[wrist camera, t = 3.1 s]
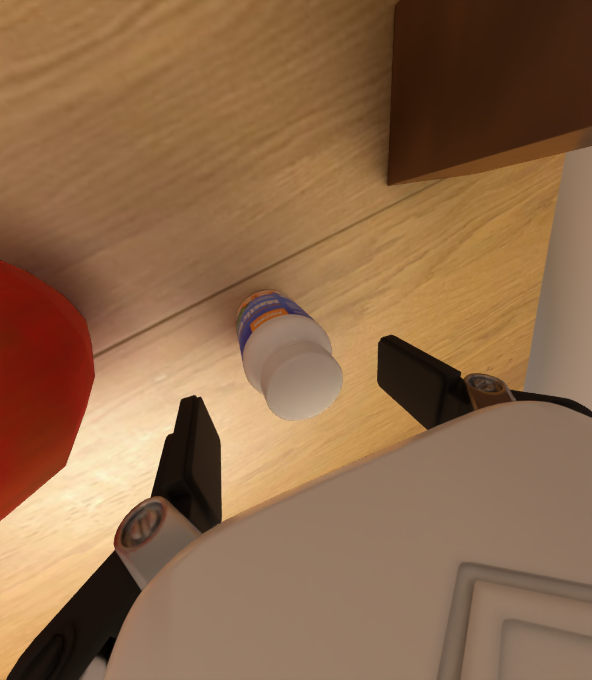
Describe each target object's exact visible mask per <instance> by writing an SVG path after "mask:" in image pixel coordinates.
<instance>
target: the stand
mask: <svg viewBox="0 0 592 680" xmlns="http://www.w3.org/2000/svg"><path fill="white" fill-rule="evenodd" d="M589 146H592V0H399V2H398V3H397V4H396V6H395V24H394V48H393V71H392V95H391V119H390V142H389V166H388V186H391V185H398V184H405V183H413V182H420V181H427V180H434V179H441V178H449V177H456V176H463V175H470V174H477V173H481V172H485V171H489V170H494V169H498V168H502V167H506V166H510V165H514V164H519V163H523V162H527V161H531V160H535V159H540V158H544V157H548V156H552V155H556V154H560V153H565V152H569V151H573V150H577V149H581V148H585V147H589Z"/></svg>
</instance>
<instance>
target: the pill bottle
mask: <svg viewBox="0 0 592 680" xmlns="http://www.w3.org/2000/svg"><path fill="white" fill-rule="evenodd" d="M236 330H237V335H238V340H239V345H240V350H241V356H242V362H243V367H244V371H245V374H246V377H247V379H248V381H249V382H250V383H251V385H252V386H253V387H254V388H255V389H256V390H257V391H258V392H260V393H261V394H263V395H264V397H265V399H266V402H267V405H268V407H269V408H270V410H271V411H272V412H273V413H274V414H275V415H277V416H278V417H280V418H282V419H285V420H290V421H300V420H305V419H309V418H312V417H314V416H316V415H318V414H320V413H321V412H323V411H324V410H326V409H327V408H328V407H329V406H330V405H331V404H332V403H333V402H334V401H335V399H336V398H337V396H338V395H339V393H340V390H341V387H342V382H343V375H342V370H341V368H340V366H339V364H338V363H337V361H336V360H335V359H334V358H333V356H332V347H331V343H330V340H329V338H328V336H327V334H326V332H325V331H324V329H323V328H322V327H321V326H320V325H319V324H318V323H317V322H316V321H314V320H313V319H312V318H311V317H310V316H309V315H308V314H307V313H306V312H305V311H304V310H303V309H301V308H300V307H299V306H298V305H297V304H296V303H295V302H294V301H293V300H292V299H290V298H289V297H288V296H287V295H285V294H283V293H281V292H278V291H273V290H265V291H260V292H257V293H254V294H253V295H251V296H249V297H248V298H247V299H246V300H245V301H244V302H243V303H242V304H241V306H240V308H239V310H238V312H237V316H236Z"/></svg>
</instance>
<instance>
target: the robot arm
mask: <svg viewBox="0 0 592 680" xmlns="http://www.w3.org/2000/svg"><path fill="white" fill-rule="evenodd" d="M460 376H461V372H460V371H458V370H456V369H455V368H453V367H451V366H449V365H447V364H445V363H444V362H442V361H440V360H438V359H436V358H434V357H433V356H431V355H429V354H427V353H425V352H423V351H422V350H420V349H418V348H416V347H414V346H412V345H411V344H409V343H407V342H405V341H403V340H401V339H400V338H398V337H396V336H394V335H388V336H385V337H382V338H381V339H380V341H379V342H378V370H377V382H378V385H379V386H380V387H381V388H382V389H383V390H384V391H385V392H386V393H387V394H389V395H390V396H391V397H392V398H393V399H394V400H395V401H396V402H397V403H398V404H400V405H401V406H402V407H403V408H404V409H405V410H406V411H407V412H408V413H409V414H411V415H412V416H413V417H414V418H415V419H416V420H417V421H418V422H419V423H420V424H422V425H423V426H424V427H425V428H426V429H427V431H424V432H422V433H420V434H417V435H415V436H413V437H410V438H408V439H405V440H403V441H401V442H398V443H396V444H394V445H392V446H389V447H387V448H385V449H382V450H380V451H378V452H375V453H373V454H371V455H368V456H366V457H364V458H362V459H359V460H357V461H355V462H352V463H350V464H348V465H345V466H343V467H341V468H339V469H336V470H334V471H332V472H329V473H327V474H325V475H323V476H320V477H318V478H316V479H314V480H311V481H309V482H307V483H304V484H302V485H300V486H298V487H295V488H293V489H291V490H289V491H286V492H284V493H282V494H280V495H277V496H275V497H273V498H271V499H269V500H267V501H264V502H262V503H260V504H258V505H256V506H254V507H251V508H249V509H247V510H245V511H243V512H241V513H239V514H237V515H235V516H233V517H231V518H229V519H227V520H225V521H223V522H221V521H222V502H221V443H220V438H219V436H218V433H217V431H216V429H215V427H214V424H213V422H212V420H211V418H210V415H209V413H208V411H207V409H206V407H205V404H204V402H203V400H202V398H201V397H198V398H197V397H196V395H193V396H190V397H187V398H184V399H181V402H180V406H179V411H178V415H177V419H176V424H175V428H174V433H172V434H169V435H168V436H167V437H166V440H165V444H164V448H163V451H162V455H161V459H160V463H159V467H158V471H157V475H156V478H155V482H154V486H153V490H152V494H151V498H148V499H146V500H144V501H143V502H141V503H139V504H138V505H137V506H136V507H134V508H133V509H132V510H131V511H130V512H129V513H128V514H127V515H126V517H125V518H124V519H123V521H122V522H121V524H120V525H119V527H118V529H117V532H116V534H115V538H114V547H115V550H114V551H113V553H112V554H111V555H110V556H109V557H108V558H107V559H106V560H105V561H104V563H103V564H102V565H101V566H100V567H99V568H98V569H97V570H96V571H95V573H94V574H93V575H92V576H91V577H90V578H89V579H88V580H87V581H86V583H85V584H84V585H83V586H82V587H81V588H80V589H79V590H78V592H77V593H76V594H75V595H74V596H73V597H72V598H71V599H70V600H69V602H68V603H67V604H66V605H65V606H64V607H63V608H62V609H61V610H60V612H59V613H58V614H57V615H56V616H55V617H54V618H53V619H52V620H51V622H50V623H49V624H48V625H47V626H46V627H45V628H44V629H43V630H42V632H41V633H40V634H39V635H38V636H37V637H36V638H35V639H34V640H33V642H32V643H31V644H30V645H29V647H28V648H27V649H26V650H25V652H24V653H23V654H22V655H21V656H20V658H19V659H18V661H17V663H16V664H15V666H14V667H13V669H12V670H11V672H10V674H9V675H8V677H7V679H6V680H592V411H590V410H589V409H588V408H586V407H585V406H583V405H581V404H579V403H578V402H575V401H573V400H570V399H567V398H561V397H555V396H548V395H542V394H535V393H528V392H521V391H515V390H510V389H509V388H508V386H507V385H506V384H505V383H504V382H503V381H501V380H500V379H498V378H496V377H494V376H490V375H487V374H481V373H473V374H469V375H467V376H466V377H465V378H464V379H463V378H461V377H460ZM217 524H218V525H217Z"/></svg>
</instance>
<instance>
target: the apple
mask: <svg viewBox="0 0 592 680" xmlns="http://www.w3.org/2000/svg"><path fill="white" fill-rule="evenodd" d="M94 378H95V372H94V362H93V352H92V344H91V339H90V335H89V331H88V327H87V322H86V320H85V318H84V317H83V316H82V315H81V314H80V313H79V312H78V311H77V310H76V308H75V307H74V306H73V305H72V304H71V303H70V302H69V301H68V299H67V298H66V297H65V296H64V295H63V294H61V293H60V292H58V291H57V290H55V289H54V288H52V287H50V286H49V285H47V284H46V283H44V282H43V281H41V280H40V279H38V278H37V277H35V276H34V275H32V274H31V273H29V272H27V271H25V270H22V269H20V268H18V267H15V266H13V265H11V264H8V263H6V262H4V261H1V260H0V521H1V520H2V519H3V518H5V517H6V516H7V515H8V514H9V513H11V512H12V511H13V510H14V509H15V508H16V507H18V506H19V505H20V504H21V503H22V502H23V501H25V500H26V499H27V498H28V497H29V496H31V495H32V494H33V493H34V492H35V491H37V490H38V489H39V488H40V487H41V486H42V485H44V484H45V483H46V482H47V481H48V480H50V479H51V478H52V477H53V476H54V475H55V474H57V473H58V472H59V471H60V470H61V469H63V468H64V467H65V466H66V464H67V461H68V458H69V455H70V452H71V450H72V447H73V444H74V441H75V439H76V436H77V433H78V430H79V427H80V425H81V422H82V419H83V416H84V414H85V411H86V408H87V404H88V400H89V396H90V393H91V389H92V385H93V381H94Z"/></svg>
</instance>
